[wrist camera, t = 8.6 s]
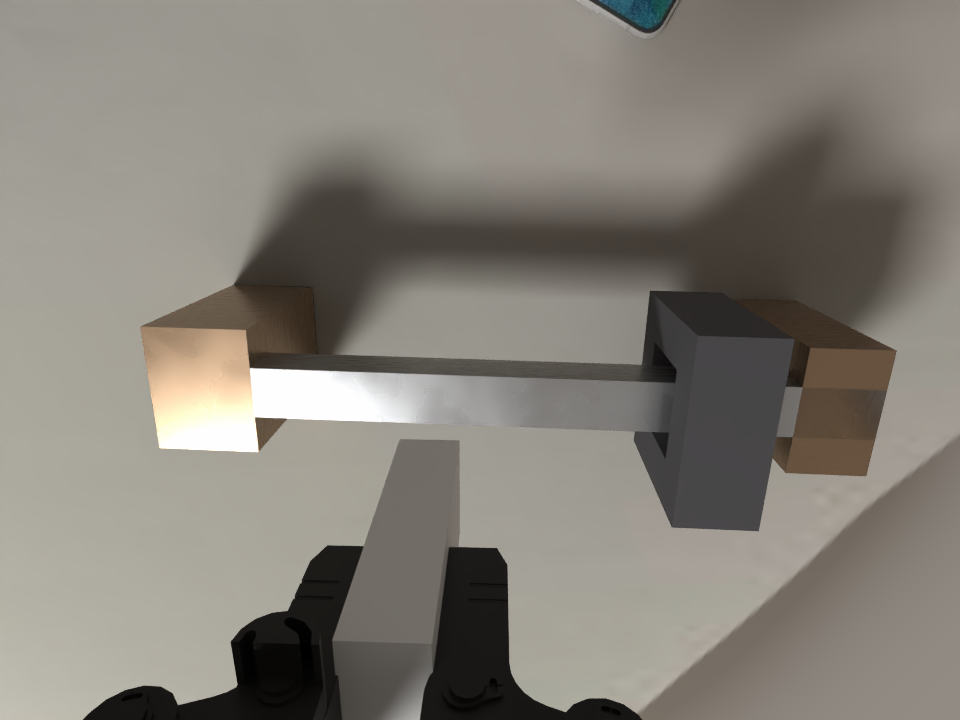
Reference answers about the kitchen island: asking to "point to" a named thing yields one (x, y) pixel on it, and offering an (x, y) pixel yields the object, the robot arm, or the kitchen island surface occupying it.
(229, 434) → the sliding collar rod
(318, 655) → the robot arm
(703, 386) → the grey rectangular sleeve
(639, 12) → the smartphone
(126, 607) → the kitchen island surface
